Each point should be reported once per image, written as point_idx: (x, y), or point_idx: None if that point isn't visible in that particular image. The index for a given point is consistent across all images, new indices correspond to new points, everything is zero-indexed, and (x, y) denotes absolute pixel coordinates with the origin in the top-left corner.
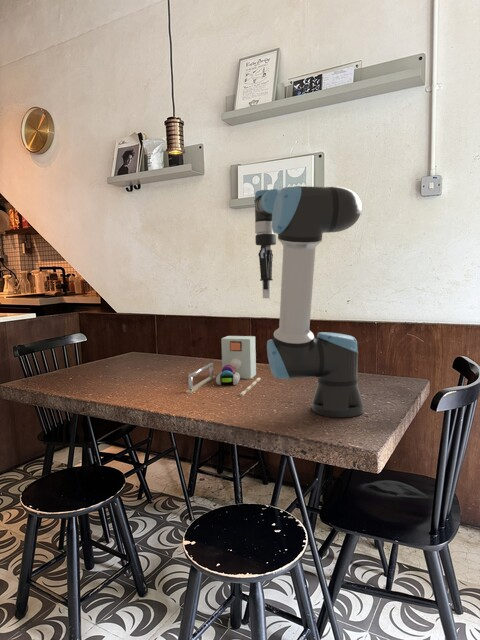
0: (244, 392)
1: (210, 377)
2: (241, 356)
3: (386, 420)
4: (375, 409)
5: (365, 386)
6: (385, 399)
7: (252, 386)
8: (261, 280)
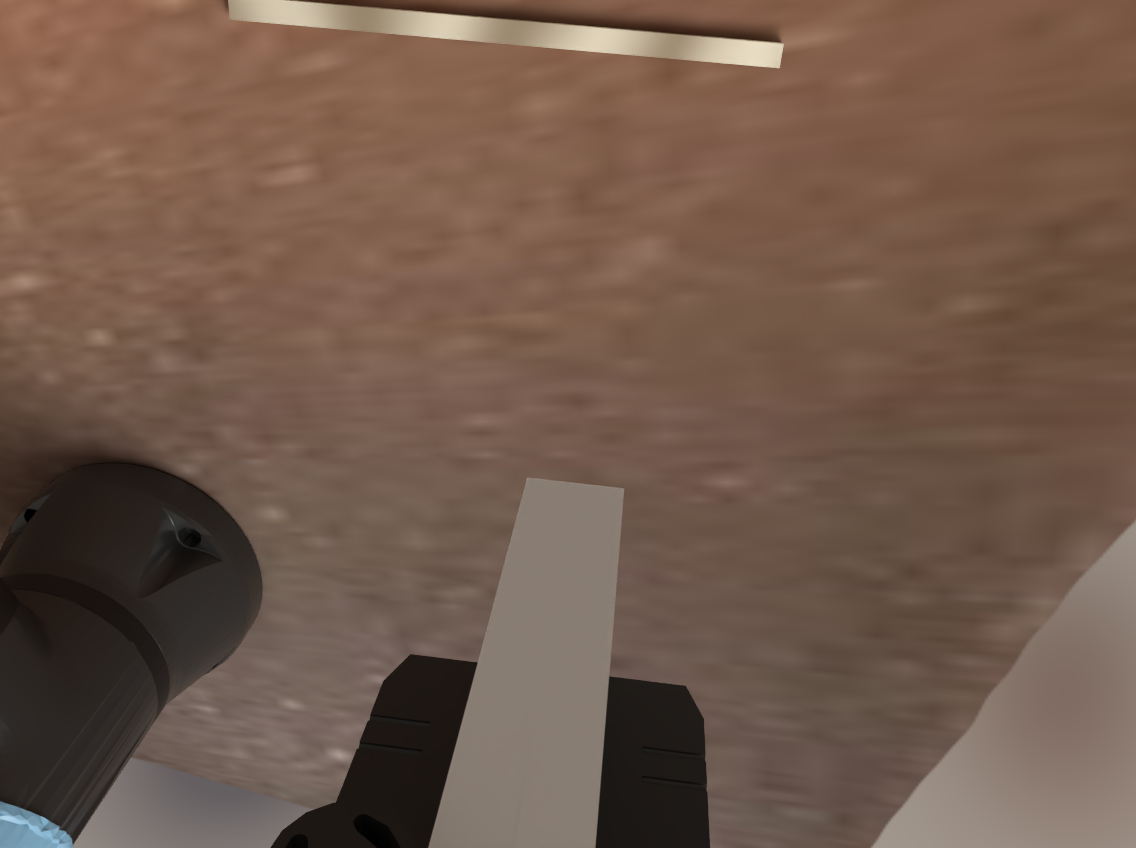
0: (281, 23)
1: None
2: None
3: None
4: (215, 698)
5: None
6: None
7: (508, 43)
8: (329, 843)
